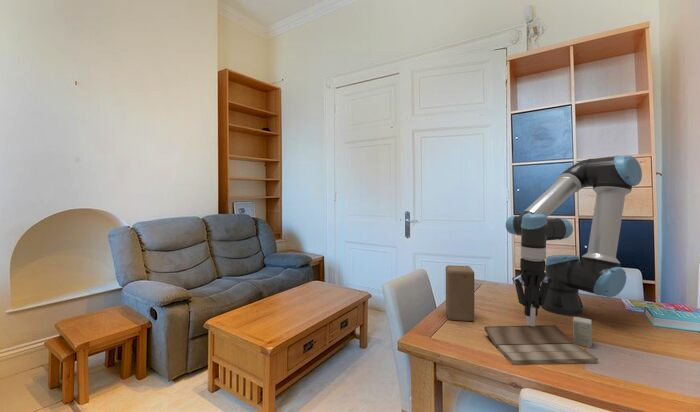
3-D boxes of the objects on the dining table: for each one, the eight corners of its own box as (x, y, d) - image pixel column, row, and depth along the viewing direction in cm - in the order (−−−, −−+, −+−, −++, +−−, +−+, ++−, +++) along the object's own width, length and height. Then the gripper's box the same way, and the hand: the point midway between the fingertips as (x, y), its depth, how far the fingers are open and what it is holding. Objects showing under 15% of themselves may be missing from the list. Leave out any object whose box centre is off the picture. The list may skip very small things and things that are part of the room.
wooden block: (474, 322, 120) (474, 271, 120) (448, 320, 122) (447, 270, 122) (470, 312, 130) (470, 265, 130) (445, 311, 132) (445, 264, 132)
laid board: (575, 347, 100) (575, 343, 100) (597, 362, 91) (597, 358, 91) (497, 349, 99) (497, 345, 99) (512, 364, 90) (512, 360, 90)
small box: (591, 342, 103) (592, 319, 102) (591, 348, 99) (592, 323, 99) (572, 338, 106) (573, 315, 106) (572, 343, 102) (572, 319, 102)
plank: (554, 328, 109) (555, 325, 109) (572, 346, 101) (573, 342, 100) (484, 329, 109) (484, 326, 109) (496, 347, 100) (496, 344, 100)
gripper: (544, 255, 111) (542, 319, 113) (508, 256, 111) (506, 320, 113) (558, 261, 104) (556, 329, 105) (520, 261, 104) (517, 329, 105)
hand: (530, 324), depth 109 cm, fingers closed
